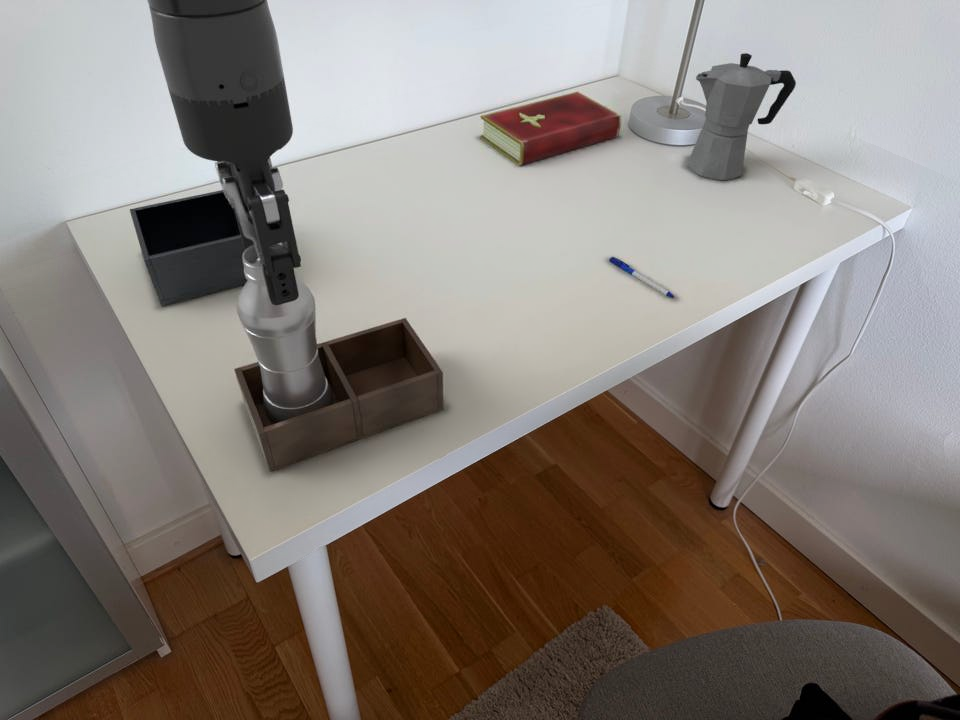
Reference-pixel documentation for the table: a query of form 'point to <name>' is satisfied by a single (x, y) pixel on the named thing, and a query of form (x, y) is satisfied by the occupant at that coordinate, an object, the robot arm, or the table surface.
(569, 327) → the table surface
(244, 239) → the robot arm
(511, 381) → the table surface
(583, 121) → the hardcover book
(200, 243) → the dark grey open box
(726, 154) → the coffeepot
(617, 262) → the ballpoint pen
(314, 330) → the silver metal bottle
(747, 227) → the table surface
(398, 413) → the divided box
